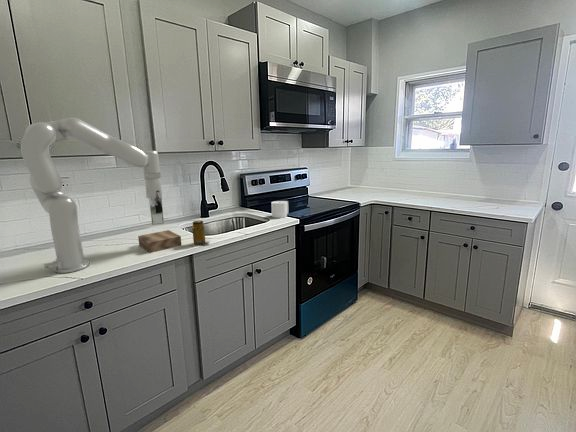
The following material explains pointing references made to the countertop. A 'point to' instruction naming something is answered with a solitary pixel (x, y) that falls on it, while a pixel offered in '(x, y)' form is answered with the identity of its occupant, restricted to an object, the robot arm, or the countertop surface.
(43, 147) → the robot arm
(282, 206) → the toilet tissue
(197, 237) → the condiment
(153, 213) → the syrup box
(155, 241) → the block
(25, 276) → the countertop surface
